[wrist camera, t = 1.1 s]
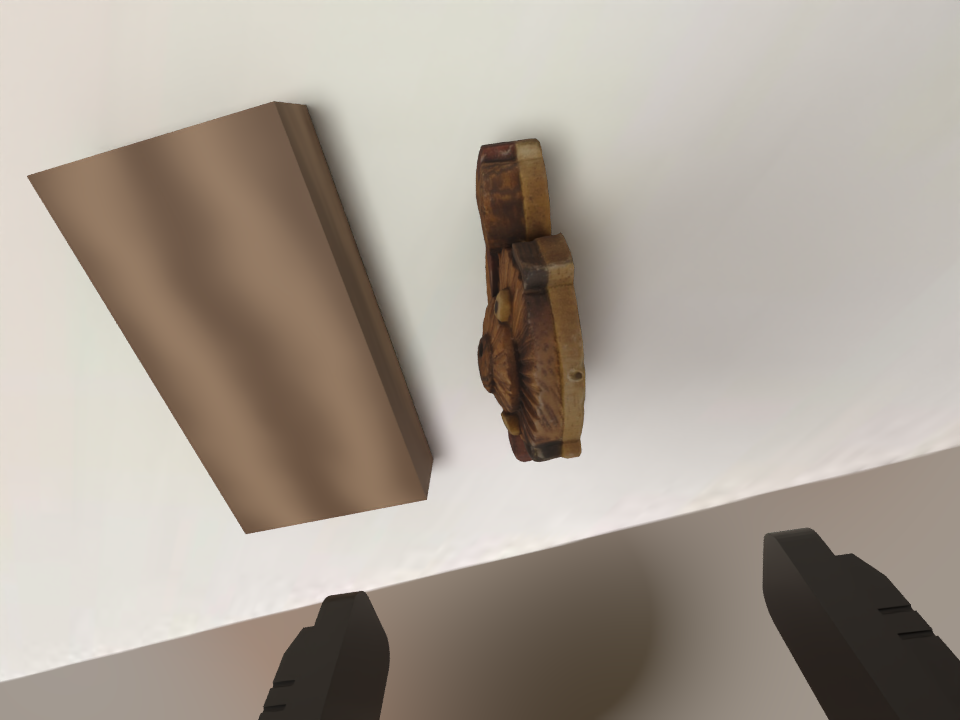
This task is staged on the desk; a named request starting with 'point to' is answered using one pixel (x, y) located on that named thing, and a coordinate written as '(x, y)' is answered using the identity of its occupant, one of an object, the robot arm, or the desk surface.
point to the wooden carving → (529, 307)
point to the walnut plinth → (250, 312)
